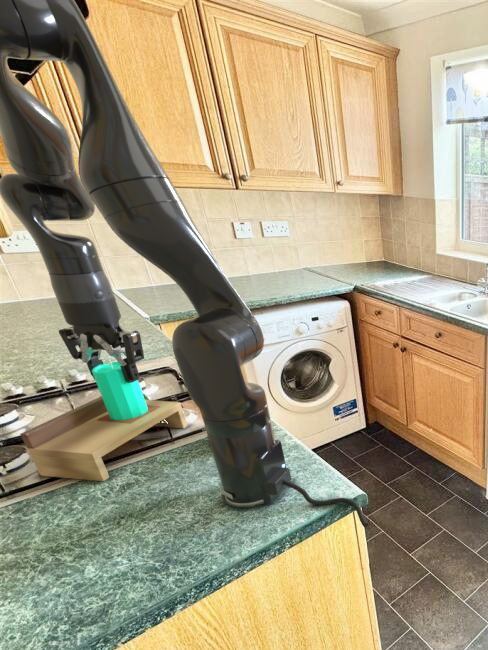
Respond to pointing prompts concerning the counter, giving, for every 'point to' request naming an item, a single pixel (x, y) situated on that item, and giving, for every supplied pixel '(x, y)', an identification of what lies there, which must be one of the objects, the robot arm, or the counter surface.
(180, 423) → the shelf
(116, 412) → the candle
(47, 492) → the counter surface
